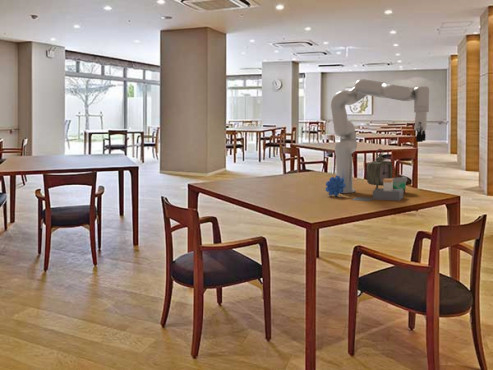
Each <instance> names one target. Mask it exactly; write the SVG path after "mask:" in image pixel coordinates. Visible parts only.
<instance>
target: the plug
mask: <svg viewBox="0 0 493 370" xmlns="http://www.w3.org/2000/svg"><path fill="white" fill-rule="evenodd" d="M383 182H384V186H383V189H384V191H392V190H393V179H386V178H385V179H383Z"/></svg>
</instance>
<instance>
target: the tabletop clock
mask: <svg viewBox="0 0 493 370" xmlns="http://www.w3.org/2000/svg"><path fill="white" fill-rule="evenodd" d="M379 151H381V152H382V153H378V152H379ZM375 153H376V154H375V155H376V156H377V157H376V158H375V160H373V161H370V162H368V163H367V165H366V182H367V183H368V184H369V185H372V186H375V188H374V190H375V189H377V188H379V186H381V187H382V186H383V187H384V182H383V179H385V178H386V179H390V178H393V176H394V175H393V174H394V173H393V171H394V170H393V168H394V167H393V163H392V161H390V160H385V158H384V156H383V154H384V149H382V148H379V149H377V150H376V152H375Z"/></svg>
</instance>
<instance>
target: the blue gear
mask: <svg viewBox="0 0 493 370" xmlns="http://www.w3.org/2000/svg"><path fill="white" fill-rule="evenodd" d="M343 182H344V178H340V177H339V176H331V177H330V178H329V180H327V181H326V182H325V186H326V187H325V191H326V193H327V194H328V195H329V196H331V197H332V196H334V197H337V196H338V195H339V194H343V193H342V192H343V188H345V186H346V184H345V183H343Z"/></svg>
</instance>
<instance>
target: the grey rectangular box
mask: <svg viewBox="0 0 493 370" xmlns="http://www.w3.org/2000/svg"><path fill="white" fill-rule="evenodd" d="M372 198H373V199H372V200H379V201H398V202H399V201H401V200H402V199H404V194H403V189H393V190H392V191H384V187H383V188H381V187H380V188H379V187H378V188H377V189H375V188H374V189H373V190H372Z"/></svg>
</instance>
